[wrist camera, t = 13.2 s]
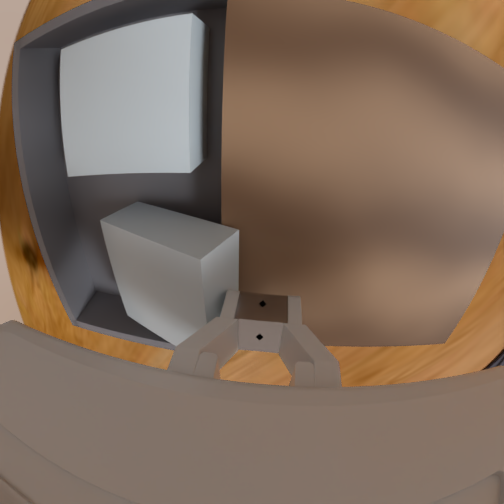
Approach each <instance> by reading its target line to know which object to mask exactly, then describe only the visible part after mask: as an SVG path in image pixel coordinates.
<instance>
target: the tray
mask: <svg viewBox="0 0 504 504" xmlns="http://www.w3.org/2000/svg"><path fill="white" fill-rule="evenodd" d="M191 13H193V14H194V15H195V16H196V17H197V18H199V19H200V20H201V21H202V22H203V23H205V24H206V25H207V26H208V27H209V28H210V32H209V53H208V82H207V158H206V159H205V160H204V161H203V162H202V163H201V164H200V165H199V166H197V167H196V168H195V169H194V170H193V171H192V172H191V173H123V174H101V175H85V176H72V177H68V173H67V167H66V160H65V153H64V145H63V135H62V124H61V108H60V57H61V49H64V48H66V47H68V46H71V45H73V44H75V43H78V42H80V41H83V40H86V39H88V38H91V37H94V36H97V35H100V34H103V33H106V32H109V31H112V30H115V29H119V28H122V27H126V26H129V25H133V24H137V23H141V22H145V21H150V20H155V19H160V18H165V17H171V16H177V15H183V14H191ZM226 13H227V0H92V1H89V2H87V3H85V4H82V5H80V6H78V7H76V8H74V9H72V10H70V11H68V12H66V13H64V14H62V15H60V16H58V17H56V18H54V19H52V20H50V21H49V22H47V23H45V24H43V25H42V26H40V27H38V28H37V29H35V30H33V31H32V32H30V33H28V34H27V35H25V36H24V37H22V38H21V39H19V40H18V41H16V42H15V43H14V53H13V67H12V112H13V127H14V137H15V146H16V153H17V160H18V166H19V172H20V177H21V182H22V187H23V191H24V196H25V200H26V204H27V208H28V212H29V215H30V219H31V223H32V226H33V229H34V233H35V236H36V239H37V242H38V245H39V248H40V251H41V253H42V256H43V259H44V262H45V264H46V267H47V269H48V272H49V275H50V277H51V279H52V282H53V284H54V287H55V289H56V291H57V293H58V296H59V298H60V300H61V302H62V304H63V306H64V308H65V310H66V313H67V315H68V317H69V319H70V320H71V322H72V324H73V325H74V326H78V327H81V328H84V329H87V330H91V331H94V332H98V333H101V334H105V335H109V336H113V337H116V338H120V339H124V340H128V341H133V342H137V343H141V344H146V345H150V346H155V347H160V348H165V349H170V350H175V348H176V346H175V345H173V344H171V343H170V342H168V341H166V340H165V339H163V338H162V337H160V336H158V335H157V334H155V333H154V332H152V331H150V330H149V329H147V328H146V327H144V326H143V325H141V324H140V323H138V322H137V321H135V320H134V319H132V318H131V317H129V316H128V315H127V313H126V310H125V307H124V304H123V301H122V298H121V295H120V292H119V289H118V286H117V282H116V279H115V276H114V273H113V269H112V266H111V262H110V259H109V255H108V251H107V247H106V243H105V239H104V235H103V231H102V227H101V222H100V220H101V219H103V218H105V217H107V216H109V215H111V214H113V213H115V212H117V211H119V210H121V209H123V208H125V207H127V206H129V205H131V204H133V203H135V202H142V203H145V204H149V205H153V206H156V207H160V208H164V209H167V210H171V211H175V212H178V213H182V214H185V215H189V216H193V217H196V218H200V219H203V220H207V221H210V222H214V223H217V224H221V225H222V213H221V158H222V102H223V71H224V48H225V29H226Z"/></svg>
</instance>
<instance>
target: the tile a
mask: <svg viewBox="0 0 504 504" xmlns="http://www.w3.org/2000/svg"><path fill="white" fill-rule="evenodd" d="M209 32H210V28H209V27H208V26H207V25H206V24H205V23H203V22H202V21H201V20H200V19H199V18H197V17H196V16H195V15H194V14H193V13H191V14H183V15H177V16H171V17H165V18H160V19H155V20H150V21H145V22H141V23H137V24H133V25H129V26H126V27H122V28H119V29H115V30H112V31H109V32H106V33H103V34H100V35H97V36H94V37H91V38H88V39H86V40H83V41H80V42H78V43H75V44H73V45H71V46H68V47H66V48H64V49H61V57H60V108H61V124H62V135H63V145H64V153H65V160H66V167H67V173H68V177H72V176H85V175H101V174H123V173H191V172H192V171H193V170H194V169H195V168H196V167H197V166H199V165H200V164H201V163H202V162H203V161H204V160H205V159H206V158H207V82H208V53H209Z"/></svg>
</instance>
